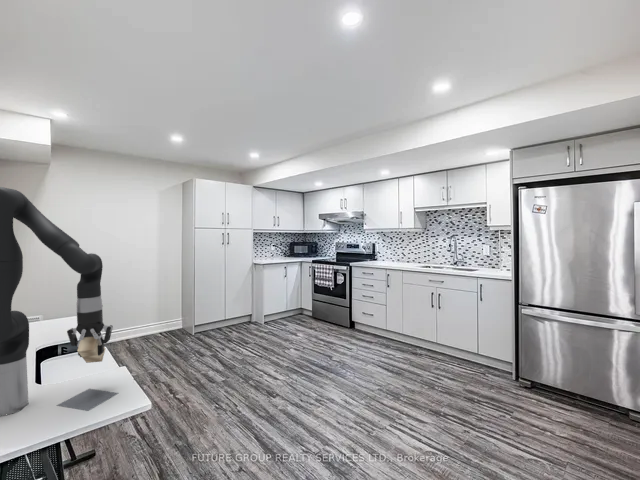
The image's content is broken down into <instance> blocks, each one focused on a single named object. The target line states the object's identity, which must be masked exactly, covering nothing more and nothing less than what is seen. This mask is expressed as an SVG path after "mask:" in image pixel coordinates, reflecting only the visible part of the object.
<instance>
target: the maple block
mask: <svg viewBox="0 0 640 480" xmlns="http://www.w3.org/2000/svg"><path fill="white" fill-rule="evenodd" d="M105 352H106V348H105V346H104V352H103V353H102V354H101V355H99V356H98V343H97V339H95V338H94V337H84V339H83V340H81V341H80V344H79V347H77V354H78V353H79V354H80V355H81V356H82V357H81V358H82V359H83V360H84V361H85V363H87V364H88V363H98V362H99V363H100V362H103V360H104V355H105Z"/></svg>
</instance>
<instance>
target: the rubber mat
mask: <svg viewBox="0 0 640 480" xmlns="http://www.w3.org/2000/svg"><path fill="white" fill-rule="evenodd" d="M118 394H119V392H115V391H106V390H103V389H100V390H99V389H93V388H88V389H86V390H84V391H82V392H80V393H78V394H75V395H74V396H71V397H70V398H68V399H66V400H64V401H62V402H61V403H58V404H57V405H56V406H57V407H62V408H68V409H74V410H80V411H86V412H89V411H91V410H93V409H95V408H96V407H98V406H99V405H102V404H103V403H104V402H106V401H108V400H110V399H112V398H114V397H115V396H116V395H118Z"/></svg>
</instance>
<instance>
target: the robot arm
mask: <svg viewBox="0 0 640 480" xmlns="http://www.w3.org/2000/svg"><path fill="white" fill-rule="evenodd" d="M14 219H15V220H17V221H18V222H20V223H22V224H23V225H25V226H26V227H28V229H30V230H31V232H32V233H34V235H35V236H36V238H37V239H38V240H39V241H40V242H41V243H42V244H43V245H44V246H45V247H46V248H48V249H49V250H50V251H52V252H53V253H55V254H56V255H57V256H59V257H60V258H61V259H62V260H63V262H65V263H66V265H67V266H68V267H69V268H71V269H72V270H73V271H74V272H76V273H78V274H79V275H80V277H79V281H78V283H76V284H77V285H76V298H77V299H76V324H77V325H76V327H71V328H70V329H67V331H66V332H67V333H66V334H67V336H68V339H69V340H68V341H69V342H70V346H71V347H77V348H78V347H79V344H80V341H81V340H83V339H84V337H94V338H95V339H97V343H98V356H99V355H101V354H102V353H103V352H104V347H105V346H104V345H105V344H107V343H108V342H109V341H110V340H111V337H112V331H113V328H114V327H113V325H111V324H110V325H105V324H104V322H103V320H104V319H103V307H104V306H103V300H102V286H101V280H102V274H103V269H104V268H103V267H104V266H103V260H102V259H101V257H100V256H99V255H98V254H96V253H93V252H92V253H87V252H86V251H84V250H83V248H81V247H80V244H79V242H78V241H77V240H76V239H74V238H73V237H71V236H70V235H69V234H67V233H66V232H65V231H64V230H63V229H61V228H60V227H58V226H57V225H56V224H55V223H53V222H52V221H51V220H49V218H47V217H46V216H45V215H44V214H43V213H42V212H41V211H40V210H39V209H38V208H37V207H36V206H35V205H34V204H33V202H31V201H30V199H29V198H28V197H27V196H25V194H24V193H22V192H21V191H19V190H17V189H13V188H7V187H4V186H3V187H2V186H0V415H5V416H7V415H6V414H9V415H13V414H15V413H18V412H20V411H22V410H23V409H24V408H26V407H27V406H28V405H29V403H30V402H29V386H28V385H29V379H28V363H27V362H28V361H27V360H28V359H27V352H28V349H29V345H30V322H29V319H28V317H27V315H26V314H25V313H24V312H22V311H18V310H12V304H13V303H12V302H13V299H14V298H13V297H14V296H15V293H16V290H17V289H18V286H19V284H20V281H21V279H22V277H23V272H24V271H23V269H24V265H23V264H24V260H23V259H24V257H23V251H22V248H21V247H20V244H19V241H18V240H17V238H16V234H15V233H14ZM102 331H104V332H105V334H104V338H103V334H102ZM77 333H78V334H79V335H80V336H79V338H77ZM104 353H105V352H104ZM77 355H78V356H79V358H82V356H81V355H80V354H79V353H78V352H77ZM12 413H13V414H12Z"/></svg>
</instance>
